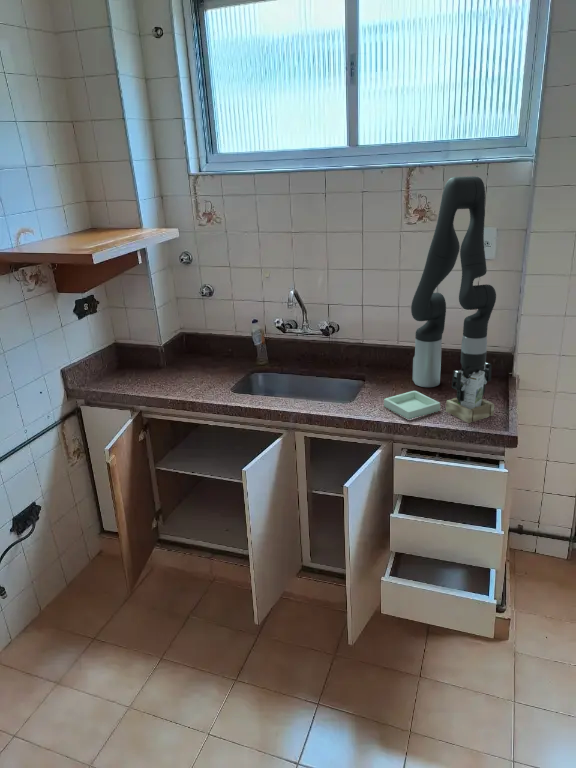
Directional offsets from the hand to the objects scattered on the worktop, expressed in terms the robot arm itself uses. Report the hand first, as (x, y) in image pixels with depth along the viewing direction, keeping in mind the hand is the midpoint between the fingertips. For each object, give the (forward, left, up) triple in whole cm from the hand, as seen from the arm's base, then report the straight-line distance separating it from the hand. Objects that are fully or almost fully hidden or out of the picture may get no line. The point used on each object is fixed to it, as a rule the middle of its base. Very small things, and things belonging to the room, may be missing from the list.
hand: (470, 397), depth 186 cm
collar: (0, 0, -6) cm, 6 cm away
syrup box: (0, 0, -6) cm, 6 cm away
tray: (-13, -13, -6) cm, 19 cm away
